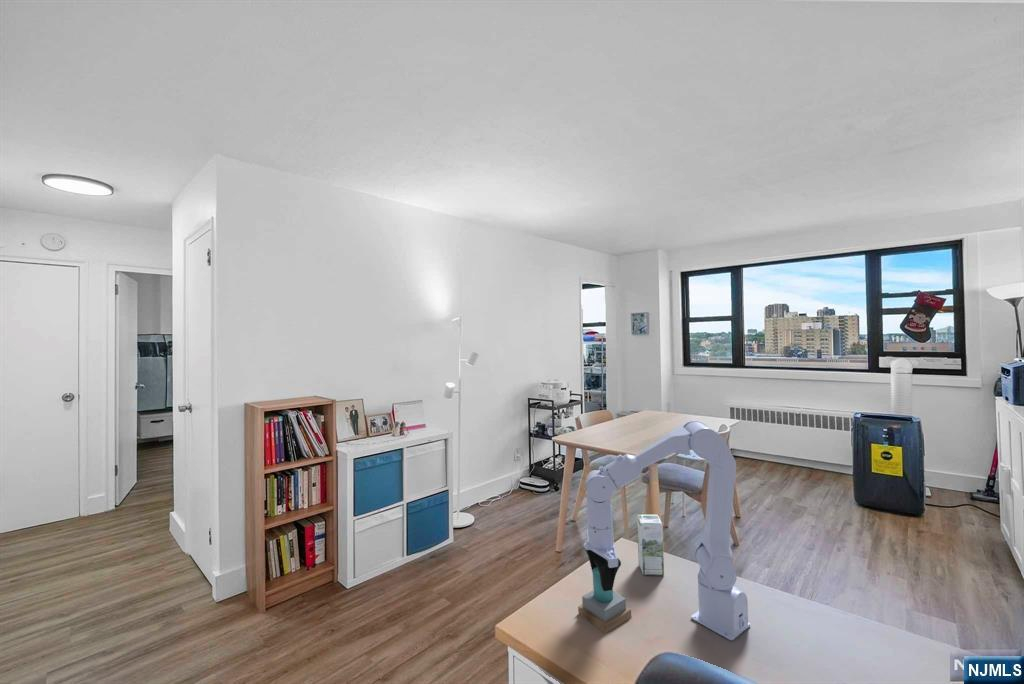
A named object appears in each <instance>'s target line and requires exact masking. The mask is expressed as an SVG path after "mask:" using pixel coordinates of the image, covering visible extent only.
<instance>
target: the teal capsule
mask: <svg viewBox="0 0 1024 684" xmlns="http://www.w3.org/2000/svg"><path fill="white" fill-rule="evenodd" d="M592 585H593V590H594V599H595V600H596V601H598V602H601V603H608V602H611V601H612V600H613V591H614V589H612V590H609V591H603V589H602V585H601V580H600V574H599V571H598V568H597V567H595V568H594V569H593V573H592ZM593 590H592V591H593Z"/></svg>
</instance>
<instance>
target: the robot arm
mask: <svg viewBox="0 0 1024 684" xmlns="http://www.w3.org/2000/svg"><path fill="white" fill-rule="evenodd" d="M691 451H693V453H694V454H696V455H697V456H698V457H700V458H702V459H703V460H705V461H706V462H707V464H708V465H709V472H708V484H707V496H706V509H705V520H704V532H703V534H701V535H700V538H699V543H698V544H697V546H696V548H695V550H694V559H695V562H696V563H697V565H699V571H698V573H697V590H698V591H697V593H698V595H697V596H698V610H697V611H696V612H695V613H693V614H692V615H690V618H691V620H693V621H695V622H697V623H699V624H701V625H702V626H704V627H706V628H708V629H709V630H711V631H713V632H714V633H716V634H718V635H720V636H722V637H724V638H725V639H727V640H729V641H734V640H735V639H736V638H737V637H739V636H740V635H742V633H743V632H744V631H746V630H747V629H748V628H749V627H750V626H751V622H749V607H748V605H749V604H748V597H747V594H746V593H745V592H744V591H742V590H741V589H740V588H738V587H737V586H736V585H735V584H736V582H737V579H738V578H737V577H738V576H737V571H736V570H735V567H734V555H733V554H734V553H733V551H732V548H731V543H730V541H731V531H732V529H731V528H732V517H733V507H734V495H735V485H736V484H735V483H736V475H737V474H736V471H737V462H736V460H735V457H734V455H733V453H732V452H731V450H730V448H729V447H728V444H727V441H726V439H725V438H723V436H721V435H720V434H719V433H718V432H717V431H715V430H714V429H712V428H710V427H709V426H708V425H706V424H705V423H703V422H702V421H701V420H690V421H687V422H686V423H684V424H683V425H680V426H678V427H675V428H674V429H673V430H672V431H670V432H669V433H667V434H666V435H664V436H662V437H661V438H659V439H658V440H657V441H655V442H653V443H651V444H650V445H648V446H647V447H646V448H644V449H642V450H641V451H639V452H637V453H636V454H635V455H634V454H629V453H625V454H624V455H622V454H620V453H619V454H618V455H617V456H616V457H615V458H616V459H615V460H613V461H611V462H610V463H608V464H606V465H605V466H603V465H601V466H599V467H598V469H594V470H592V471H589V473H588V474H587V476H586V477H585V480H584V485H585V489H586V490H585V491H586V493H587V496H586V502H587V503H586V515H587V516H586V517H587V518H586V519H587V529H586V530H585V531H586V532H585V533H586V534H585V535H586V536H585V537H586V539H587V542H585V543H583V546H582V547H583V549H584V551H585V552H586V554H587V557H588V561H589V564H590V569H591V572H592V574H593V569H594V568H595V567H597V568H598V571H599V574H600V580H601V585H602V589H603V591H609V590H612V589H613V588H614V584H615V579H616V575H617V572H618V571H619V568H620V567H621V566H622V562H621V560H620V559H619V558H618V556H617V553H616V546H615V542H614V525H613V521H614V520H613V505H612V503H611V501H612V500H611V498H612V496H613V494H614V491H618V490H619V489H621V488H622V487H624V486H627V485H628V484H630V483H632V482H633V481H635V480H637V479H639V478H640V477H641V475H642V473H643V469H645V468H647V467H649V466H651V465H653V464H655V463H657V462H660V461H661V460H663V459H665V458H667V457H669V456H671V455H673V454H680V455H686V456H691V455H692V453H691ZM613 590H614V589H613Z"/></svg>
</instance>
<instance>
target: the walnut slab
mask: <svg viewBox="0 0 1024 684" xmlns="http://www.w3.org/2000/svg"><path fill="white" fill-rule="evenodd" d="M577 608H578V609H577V610H578V613H579V614H578V615H580V616H581V615H582V616H583V618H584V619H585V618H586V620H587V621H588V622H589V623H591V624H593V626H595V627H597V628H598V629H599V630H600V631H602V632H603V633H605V634H607V633H608V632H610V631H611V630H613V629H615V628H616V627H619V626H620V625H622V624H623V623H624V622H626V621H629V619H631V618H632V609H631V608H629V606H628V607H627V606H626V610H624V611H623V612H621V613H619V614H618V615H616V616H614V617H613V618H611V619H610V620H608V621H606V622H604V621H603V620H601V619H600V618H598V617H597V616H596V615H594V614H593V613H591V612H590V611H588V610H587V609H585V608H584V607H583V603H582V604H579V606H577ZM582 616H581V617H582Z"/></svg>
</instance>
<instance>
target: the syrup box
mask: <svg viewBox="0 0 1024 684" xmlns="http://www.w3.org/2000/svg"><path fill="white" fill-rule="evenodd" d="M636 520H637V521H636V525H637V526H636V527H637V550H638V551H637V552H638V553H637V554H638V556H637V557H638V565H639V568H640V572H641V574H642V575H643V576H665V559H664V528H663V527H664V526H663V522H662V520H661V518H660V516H659V515H658V514H637V515H636Z"/></svg>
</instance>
